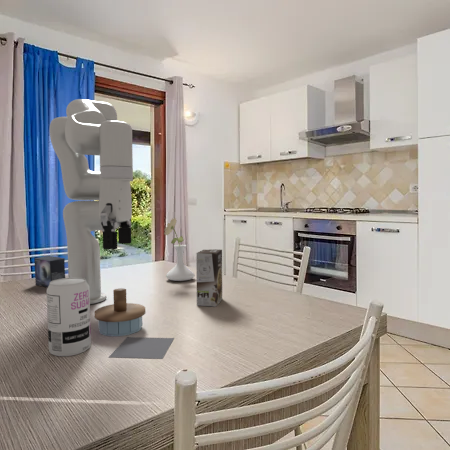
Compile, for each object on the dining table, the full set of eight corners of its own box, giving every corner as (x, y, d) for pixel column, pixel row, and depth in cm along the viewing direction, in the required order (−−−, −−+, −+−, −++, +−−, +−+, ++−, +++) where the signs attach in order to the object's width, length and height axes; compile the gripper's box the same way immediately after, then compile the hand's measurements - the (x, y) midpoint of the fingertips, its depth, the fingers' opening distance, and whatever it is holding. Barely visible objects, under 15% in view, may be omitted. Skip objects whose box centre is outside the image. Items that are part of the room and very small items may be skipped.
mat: (108, 359, 75) (108, 357, 75) (127, 338, 86) (127, 337, 86) (162, 360, 74) (162, 358, 74) (174, 339, 85) (174, 338, 85)
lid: (85, 321, 86) (84, 295, 85) (106, 306, 98) (105, 284, 97) (136, 322, 85) (136, 296, 84) (151, 307, 97) (150, 284, 96)
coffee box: (216, 307, 111) (216, 253, 110) (196, 305, 112) (195, 252, 111) (223, 299, 120) (222, 249, 119) (203, 298, 121) (203, 248, 120)
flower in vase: (179, 275, 157) (178, 216, 155) (200, 279, 150) (200, 217, 148) (156, 281, 146) (155, 217, 144) (178, 285, 139) (177, 218, 138)
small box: (34, 285, 141) (32, 257, 140) (50, 282, 146) (49, 255, 146) (50, 288, 135) (49, 260, 134) (66, 285, 140) (65, 257, 140)
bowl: (91, 337, 87) (91, 320, 87) (108, 322, 97) (108, 307, 97) (134, 338, 86) (133, 321, 86) (146, 323, 96) (146, 308, 96)
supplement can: (57, 344, 83) (54, 277, 82) (95, 342, 83) (93, 276, 82) (42, 359, 75) (39, 285, 74) (84, 358, 75) (82, 284, 74)
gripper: (114, 176, 98) (116, 241, 99) (85, 173, 81) (87, 251, 82) (142, 176, 97) (143, 241, 99) (118, 173, 80) (120, 251, 82)
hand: (118, 246), depth 90 cm, fingers open, 9 cm apart
